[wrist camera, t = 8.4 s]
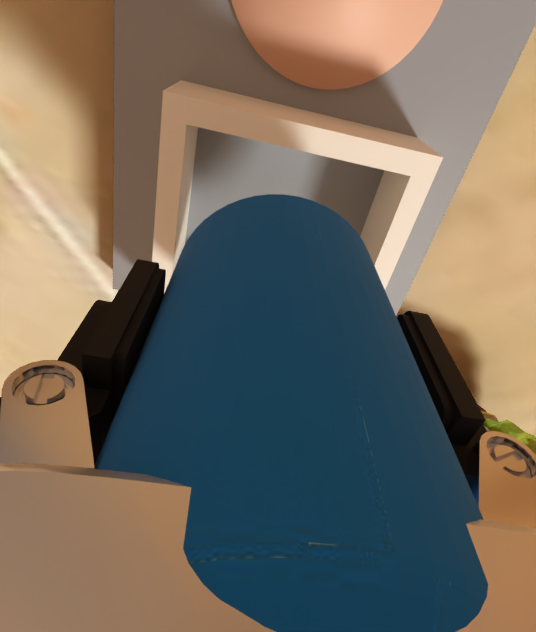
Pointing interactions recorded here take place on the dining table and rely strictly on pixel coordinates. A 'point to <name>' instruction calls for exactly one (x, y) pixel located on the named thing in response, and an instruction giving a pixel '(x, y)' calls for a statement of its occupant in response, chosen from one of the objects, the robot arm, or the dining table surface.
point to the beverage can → (300, 431)
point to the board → (303, 115)
